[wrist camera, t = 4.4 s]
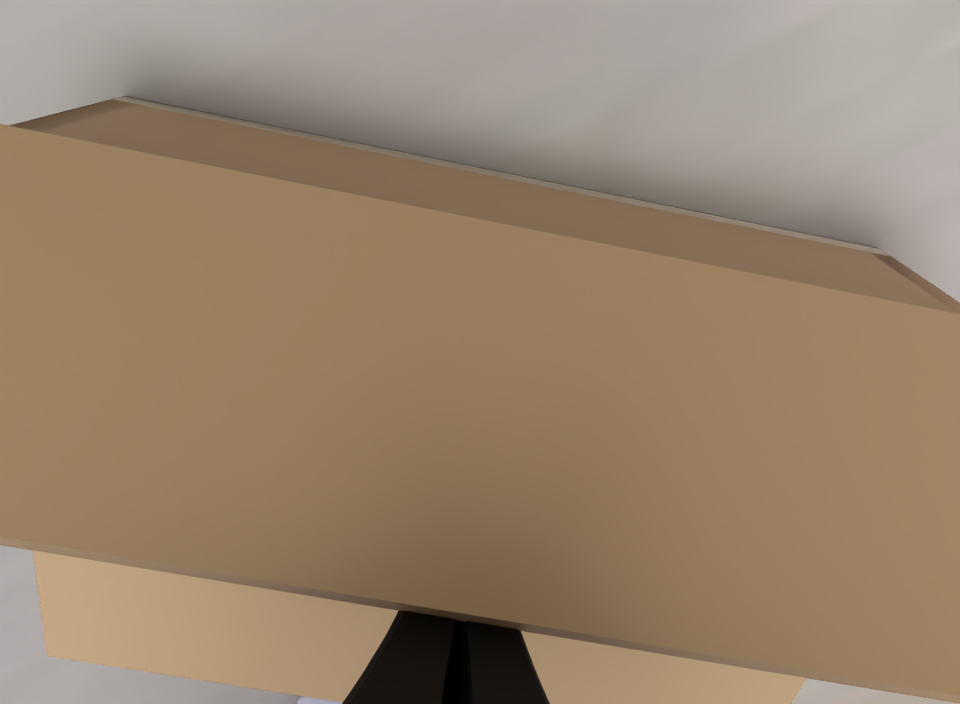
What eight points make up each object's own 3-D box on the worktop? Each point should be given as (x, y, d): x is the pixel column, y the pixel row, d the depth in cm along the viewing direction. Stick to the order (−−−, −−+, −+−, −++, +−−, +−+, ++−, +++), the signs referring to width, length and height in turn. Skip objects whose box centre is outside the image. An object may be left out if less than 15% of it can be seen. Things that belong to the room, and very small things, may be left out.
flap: (1084, 724, 11) (1133, 725, 10) (-235, 506, 10) (-282, 489, 9) (991, 346, 14) (1024, 327, 13) (-7, 150, 13) (-29, 117, 12)
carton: (704, 615, 25) (753, 767, 20) (141, 520, 24) (47, 656, 19) (879, 249, 19) (1014, 338, 14) (124, 95, 17) (-26, 134, 13)
